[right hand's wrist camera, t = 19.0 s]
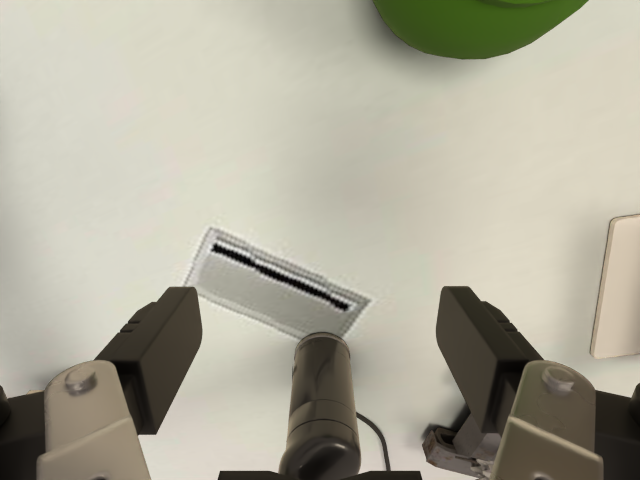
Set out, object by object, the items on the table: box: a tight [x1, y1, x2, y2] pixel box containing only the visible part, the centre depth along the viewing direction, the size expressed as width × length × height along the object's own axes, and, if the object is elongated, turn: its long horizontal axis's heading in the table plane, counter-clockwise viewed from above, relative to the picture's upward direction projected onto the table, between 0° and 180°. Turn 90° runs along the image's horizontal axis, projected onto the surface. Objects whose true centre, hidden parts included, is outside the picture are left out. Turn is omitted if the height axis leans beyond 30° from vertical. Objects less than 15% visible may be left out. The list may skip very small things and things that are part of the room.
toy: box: [422, 413, 501, 480], centre depth 58 cm, size 25×20×15 cm
